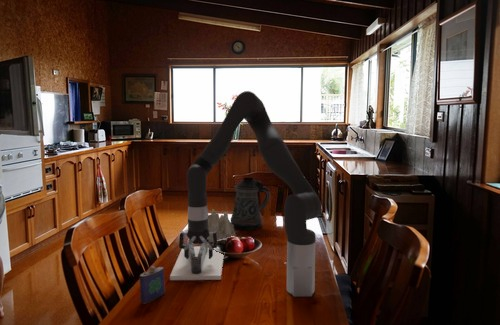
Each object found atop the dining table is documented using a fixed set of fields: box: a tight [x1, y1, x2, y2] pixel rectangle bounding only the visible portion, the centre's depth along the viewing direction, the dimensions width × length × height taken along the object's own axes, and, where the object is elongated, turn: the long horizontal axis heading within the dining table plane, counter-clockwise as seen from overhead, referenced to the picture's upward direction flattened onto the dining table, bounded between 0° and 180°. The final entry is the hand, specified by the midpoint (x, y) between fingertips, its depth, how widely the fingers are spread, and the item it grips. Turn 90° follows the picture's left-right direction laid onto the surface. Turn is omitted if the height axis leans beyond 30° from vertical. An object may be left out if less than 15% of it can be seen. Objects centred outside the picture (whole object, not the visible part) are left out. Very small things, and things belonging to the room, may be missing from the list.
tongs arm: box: [187, 238, 195, 262], centre depth 154 cm, size 22×2×5 cm, turn 11°
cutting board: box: [169, 245, 225, 281], centre depth 154 cm, size 30×18×2 cm, turn 1°
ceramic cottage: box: [208, 209, 236, 243], centre depth 186 cm, size 16×16×15 cm
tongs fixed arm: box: [191, 243, 208, 274], centre depth 153 cm, size 26×4×5 cm, turn 1°
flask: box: [139, 265, 166, 305], centre depth 125 cm, size 9×3×11 cm, turn 144°
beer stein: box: [230, 177, 271, 231], centre depth 202 cm, size 16×19×25 cm
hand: (198, 258), depth 150 cm, fingers open, 8 cm apart
